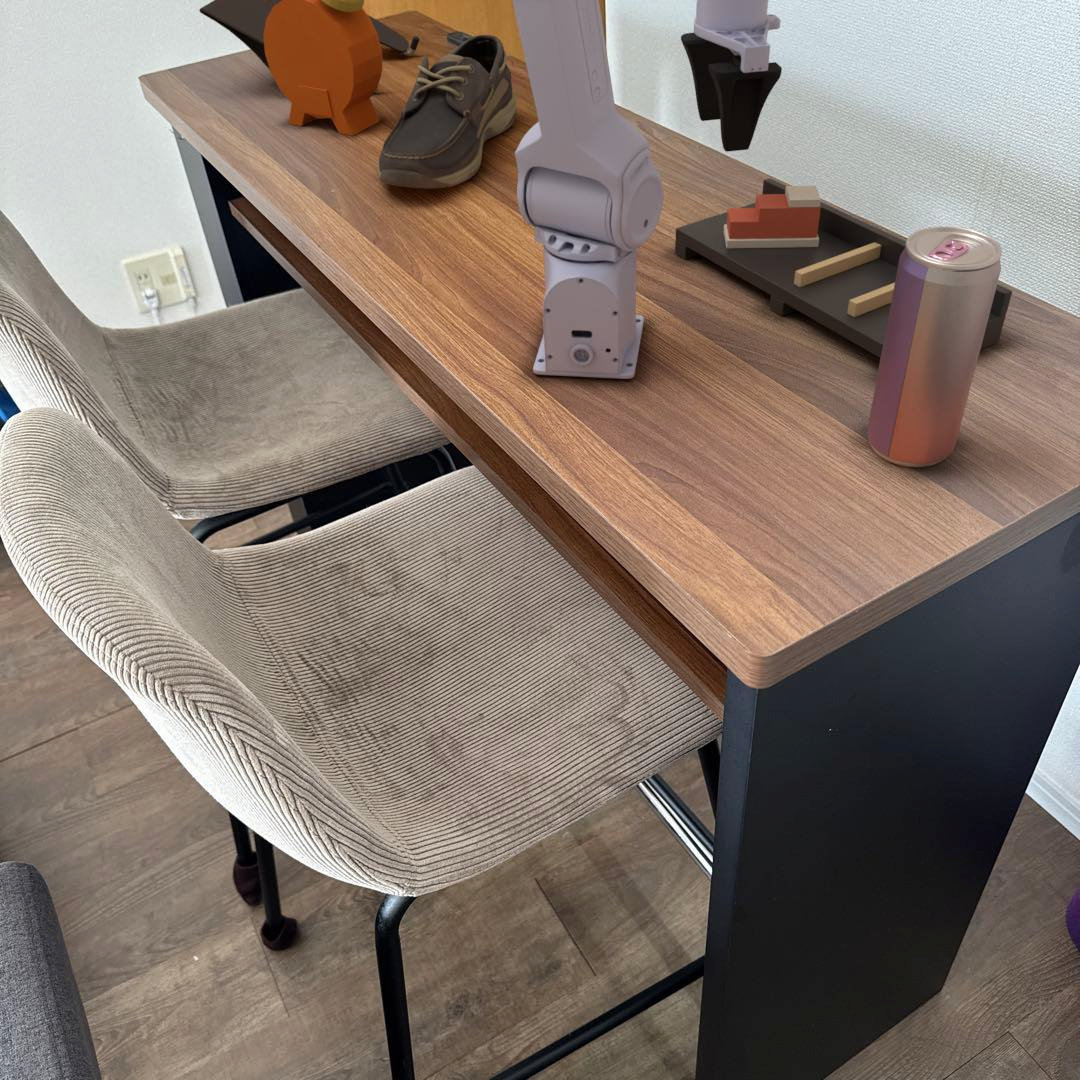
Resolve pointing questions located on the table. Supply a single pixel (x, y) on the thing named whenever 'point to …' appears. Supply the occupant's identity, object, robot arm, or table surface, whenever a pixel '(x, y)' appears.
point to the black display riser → (824, 273)
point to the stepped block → (776, 220)
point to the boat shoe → (450, 117)
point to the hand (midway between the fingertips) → (723, 133)
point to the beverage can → (932, 343)
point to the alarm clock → (325, 61)
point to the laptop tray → (246, 17)
